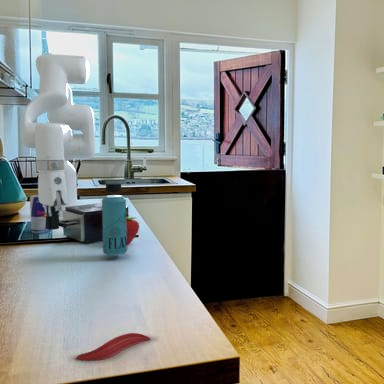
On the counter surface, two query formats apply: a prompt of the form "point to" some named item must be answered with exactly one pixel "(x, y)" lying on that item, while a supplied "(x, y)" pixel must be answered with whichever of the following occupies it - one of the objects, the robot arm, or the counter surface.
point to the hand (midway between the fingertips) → (52, 228)
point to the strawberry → (131, 228)
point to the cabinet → (91, 221)
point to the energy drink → (37, 216)
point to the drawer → (73, 225)
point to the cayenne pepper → (113, 346)
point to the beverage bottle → (114, 221)
